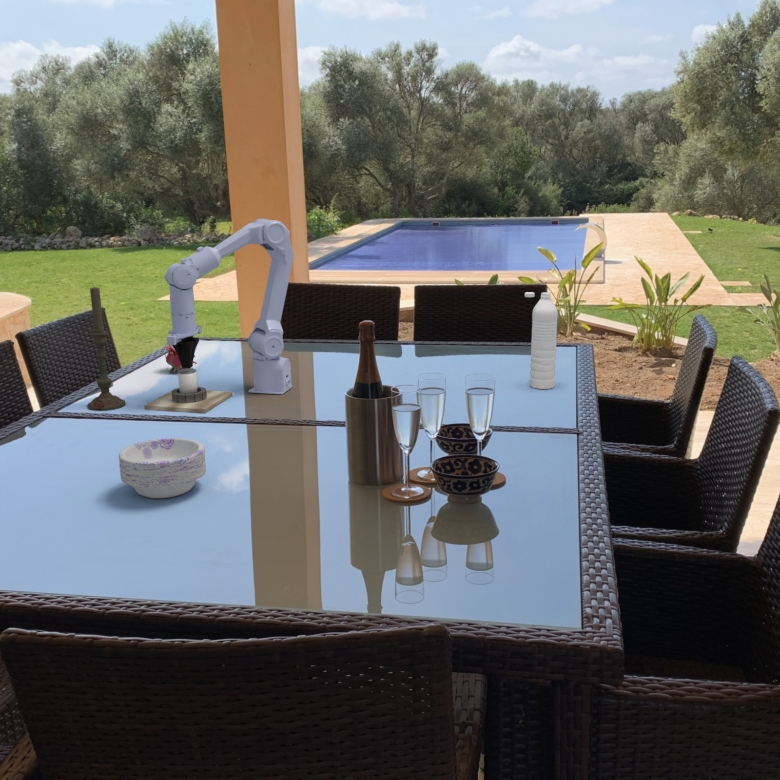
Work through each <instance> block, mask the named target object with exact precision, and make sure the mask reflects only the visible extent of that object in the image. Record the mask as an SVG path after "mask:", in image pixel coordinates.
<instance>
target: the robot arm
mask: <svg viewBox="0 0 780 780" xmlns="http://www.w3.org/2000/svg"><path fill="white" fill-rule="evenodd" d="M290 236H291V232H290V230H289V229H288V228H287V226H286V225H285V224H284V223H283V222H282V221H280V220H274V219H273V220H270V219H266V218H262V217H261V218H258V219H256V220H254V221H253V222H249V223H248V224H246V225H244V226H243V227H242V228H240V229H239V230H238V231H235V232H234V233H232V234H231V235H230V236H228V237H227V238H225V239H224V240H223V241H221V242H220V243H218V244H217V245H215V246H214V247H211V246H207V245H206V246H199V247H197V248H196V252H194V253H192V254H191V255H189V256H188V257H186V258H185V257H182V258H181V259H180V263H176V262H175V263H173V264H171V265H170V266H168V267H167V269H166V271H165V275H164V280H165V282H166V283H167V284H168V288H169V303H170V304H169V305H170V317H171V318H170V319H171V329H170V330H168V334H169V335H168V336H166V345H167V346H169V345H171V346H172V347H174V349H175V350H176V352H177V354H178V357H179V360H180V363H181V366H182V368H190V369H192V368H193V366H194V363H193V361H194V359H195V357H194V355H195V352H196V350H197V347H198V344H199V343H200V338H199V337H194V336H196V335H198V334H199V335H201V334H202V332H203V331H202V326H201V325H197V322H196V308H195V294H194V286H195V284H196V282H197V281H198V280H199V279H201V278H202V277H204V276H206V275H208V274H209V273H210V272H212V271H214V270H215V269H216V270H217V269H218V268H219V267H220V264H221V260H222V259H223V258H225V257H227V256H230V255H231V254H232V253H234V252H237V251H238V250H240V249H242V248H244V247H246V246H248V245H260V246H261V247H262V248H263V249H264V250H265V251H266V252H267V254H268V255H269V257H270V258H271V261H270V265H269V270H268V275H267V281H266V285H265V286H266V287H265V291H264V296H263V301H262V305H261V306H262V307H261V311H260V316H259V319H258V320H256V322H255V323H254V325H253V329H252V331H251V333H250V334H249V335H248V339H247V344H248V347H249V349H250V350H251V351H252V372H253V376H252V377H253V387H251V388H250V389H249V390H248V393H249V394H250V393H252V394H253V393H255V394H266V395H267V394H269V395H270V394H271V395H283V394H285V393H286V392H287V391H289V390H290V389H292V388H293V385H292V367H291V361H290V359H289V358H287V357H282V356H281V354H282V353H283V350H284V349H285V343H284V339H283V337H284V336H283V335H284V330H283V327H282V323H281V320H282V315H283V311H284V308H285V307H284V305H285V301H286V296H287V293H288V291H287V290H288V287H289V283H290V282H289V281H290V276H291V271H292V267H293V261H294V255H295V254H294V250H293V245H292V242H291V239H290ZM192 365H193V366H192Z"/></svg>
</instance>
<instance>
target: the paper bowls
mask: <svg viewBox="0 0 780 780" xmlns="http://www.w3.org/2000/svg"><path fill="white" fill-rule="evenodd" d="M118 460H119V464H118V465H119V466H118V467H119V474H120V480H121V482H122V483H123V484H125V485H128V486H130V487H132V488H133V489H134V490H135V491H136V493H137V494H138V495H140V496H143V497H146V498H150V499H167V498H168V499H169V498H174V497H177V496H181V495H184V494H186V493H188V492H189V491H190V490H192V489H193V488H194V486H195V483H196V481H197V480H199V479H201V478H202V477H203V476H205V474H206V472H207V467H206V466H207V463H206V449H205V446H204V444H203V443H202V442H200V441H198V440H196V439H191V438H190V439H189V438H183V437H166V438H164V437H163V438H155V439H150V440H149V439H148V440H144V441H139V442H137V443H133V444H131V445H129V446H126V447H124V448H123V449H122V450H120V452H119V455H118Z"/></svg>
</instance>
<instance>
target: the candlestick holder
mask: <svg viewBox="0 0 780 780" xmlns="http://www.w3.org/2000/svg"><path fill="white" fill-rule="evenodd" d="M92 286H93V287H91V288H89V292H90V293H89V294H90V302H91V311H92V322H93V330H94V331H92V332H91V333H90V335H91V336H92V337H93V339H92V343H93V345H94V346H96V347H97V352H96V357H97V359H98V366H99V367H98V369H99V372H100V375H99V377H98V379H97V380H96V383H97V386H98V388H99V389H100V393H99V395H98V396H97V397H94V398H93V399H92V400H91V401H89V402H88V403H87V406H86V407H87V409H89V410H90V411H95V412H98V411H99V412H100V411H101V412H106V411H112V410H118V409H120V408H123V407H124V406H126V404H127V403H126V400H125V399H123V398H120V397H119V396H118V395H115V394H113V393H112V392H110V387H111V386H112V382H113V381H112V379H111V378H110V377H108V374H107V366H106V365H107V363H106V357H107V354H106V349H105V345H106V344H108V339H107V335H108V331H107V330H105V328H104V321H103V311H102V303H101V302H102V300H101V299H102V298H101V291H100V287H95V286H94V285H92Z"/></svg>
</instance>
